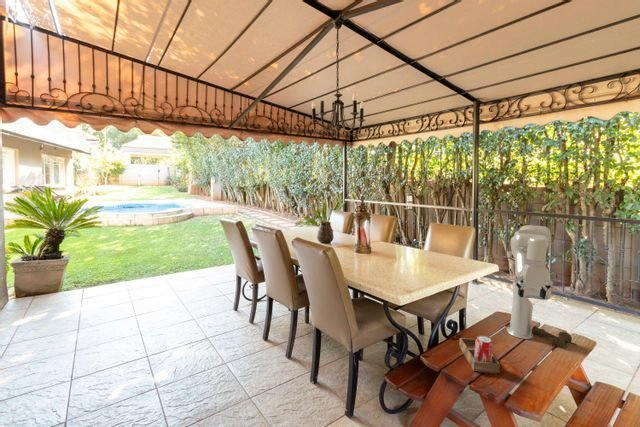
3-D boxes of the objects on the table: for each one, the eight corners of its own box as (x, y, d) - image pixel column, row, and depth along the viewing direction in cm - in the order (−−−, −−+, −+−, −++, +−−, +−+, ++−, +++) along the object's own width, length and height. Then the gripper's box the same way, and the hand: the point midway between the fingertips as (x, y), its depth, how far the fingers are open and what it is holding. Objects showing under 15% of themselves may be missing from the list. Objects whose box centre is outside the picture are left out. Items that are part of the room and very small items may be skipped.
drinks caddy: (458, 345, 160) (459, 337, 160) (481, 347, 159) (481, 339, 158) (473, 371, 139) (474, 362, 139) (499, 373, 138) (500, 364, 138)
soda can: (470, 358, 147) (472, 334, 146) (484, 357, 148) (486, 334, 146) (479, 367, 140) (481, 343, 139) (494, 367, 141) (496, 342, 139)
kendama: (536, 331, 177) (579, 347, 161) (528, 337, 172) (573, 353, 156) (536, 322, 177) (580, 336, 160) (529, 327, 171) (574, 342, 155)
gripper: (550, 261, 149) (546, 295, 152) (512, 260, 152) (508, 293, 154) (560, 266, 142) (555, 301, 144) (519, 264, 144) (516, 299, 146)
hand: (531, 297), depth 149 cm, fingers open, 9 cm apart
